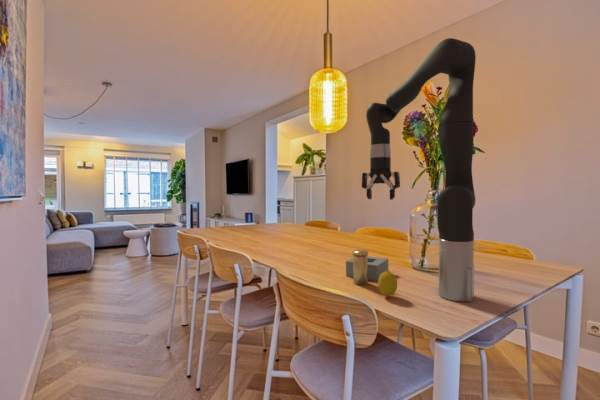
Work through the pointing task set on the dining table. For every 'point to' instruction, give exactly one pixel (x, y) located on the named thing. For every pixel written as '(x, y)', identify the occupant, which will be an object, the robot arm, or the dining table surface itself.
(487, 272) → the dining table surface
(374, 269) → the block
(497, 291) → the dining table surface
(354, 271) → the glass jar
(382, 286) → the lemon
